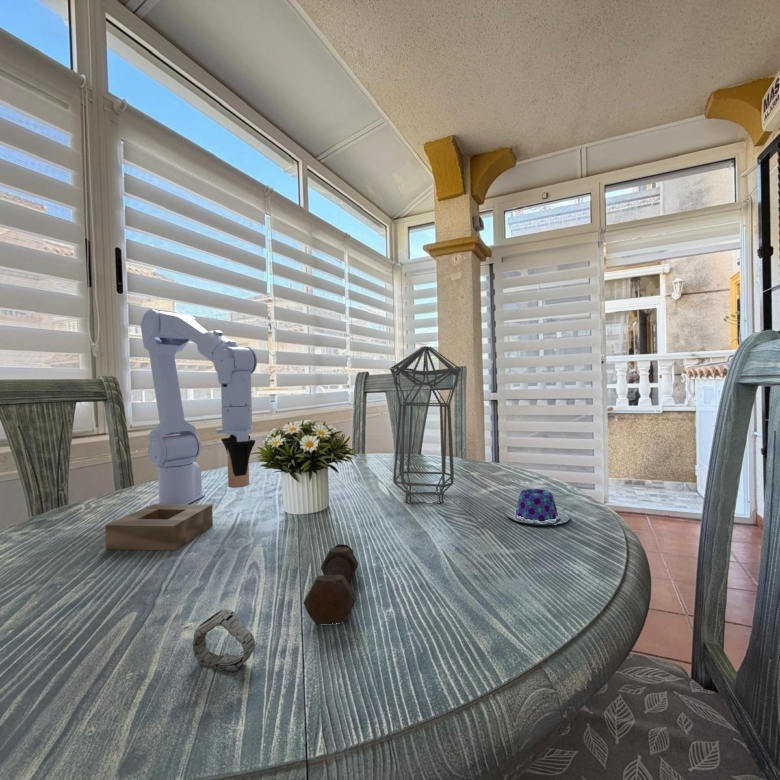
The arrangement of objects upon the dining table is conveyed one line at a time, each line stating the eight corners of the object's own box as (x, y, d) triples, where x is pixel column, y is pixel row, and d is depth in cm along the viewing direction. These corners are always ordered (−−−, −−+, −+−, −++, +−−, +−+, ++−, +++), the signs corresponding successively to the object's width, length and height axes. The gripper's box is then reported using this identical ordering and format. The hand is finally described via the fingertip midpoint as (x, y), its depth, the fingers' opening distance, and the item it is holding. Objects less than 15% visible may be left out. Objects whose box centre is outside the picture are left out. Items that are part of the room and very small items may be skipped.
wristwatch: (209, 649, 42) (207, 600, 42) (262, 659, 40) (260, 608, 40) (182, 672, 39) (181, 619, 39) (239, 684, 37) (237, 629, 37)
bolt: (348, 579, 61) (336, 638, 46) (318, 562, 61) (296, 616, 46) (367, 543, 61) (361, 591, 46) (337, 527, 61) (321, 569, 46)
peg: (234, 482, 86) (233, 444, 86) (252, 482, 86) (251, 444, 86) (224, 487, 82) (223, 447, 82) (243, 487, 82) (242, 447, 82)
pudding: (576, 531, 73) (575, 502, 73) (505, 527, 76) (504, 499, 76) (564, 511, 85) (563, 485, 85) (503, 508, 88) (503, 483, 87)
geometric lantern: (395, 489, 104) (395, 349, 104) (459, 491, 102) (459, 349, 102) (386, 507, 88) (386, 342, 88) (461, 510, 86) (461, 342, 86)
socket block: (154, 524, 81) (153, 504, 81) (212, 525, 80) (212, 504, 79) (106, 549, 69) (105, 525, 69) (174, 550, 68) (173, 526, 68)
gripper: (212, 405, 88) (213, 469, 89) (219, 408, 76) (221, 483, 76) (246, 404, 92) (248, 465, 92) (259, 407, 79) (260, 478, 79)
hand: (238, 473), depth 84 cm, fingers closed on peg, 4 cm apart
